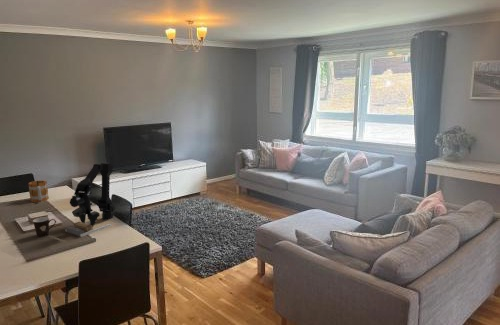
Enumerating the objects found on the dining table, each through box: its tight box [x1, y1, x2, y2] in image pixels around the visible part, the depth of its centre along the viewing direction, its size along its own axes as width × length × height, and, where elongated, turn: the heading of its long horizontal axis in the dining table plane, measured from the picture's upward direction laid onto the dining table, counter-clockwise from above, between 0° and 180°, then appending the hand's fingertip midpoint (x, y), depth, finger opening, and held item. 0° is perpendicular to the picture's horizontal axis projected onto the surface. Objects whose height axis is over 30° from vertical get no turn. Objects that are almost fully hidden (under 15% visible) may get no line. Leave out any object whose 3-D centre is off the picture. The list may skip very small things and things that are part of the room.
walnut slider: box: [73, 221, 94, 233], centre depth 233 cm, size 4×14×4 cm, turn 57°
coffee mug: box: [32, 216, 57, 238], centre depth 230 cm, size 12×9×10 cm
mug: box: [27, 179, 50, 203], centre depth 303 cm, size 20×14×15 cm
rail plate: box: [65, 220, 112, 238], centre depth 236 cm, size 21×18×4 cm
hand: (87, 225), depth 236 cm, fingers open, 9 cm apart
